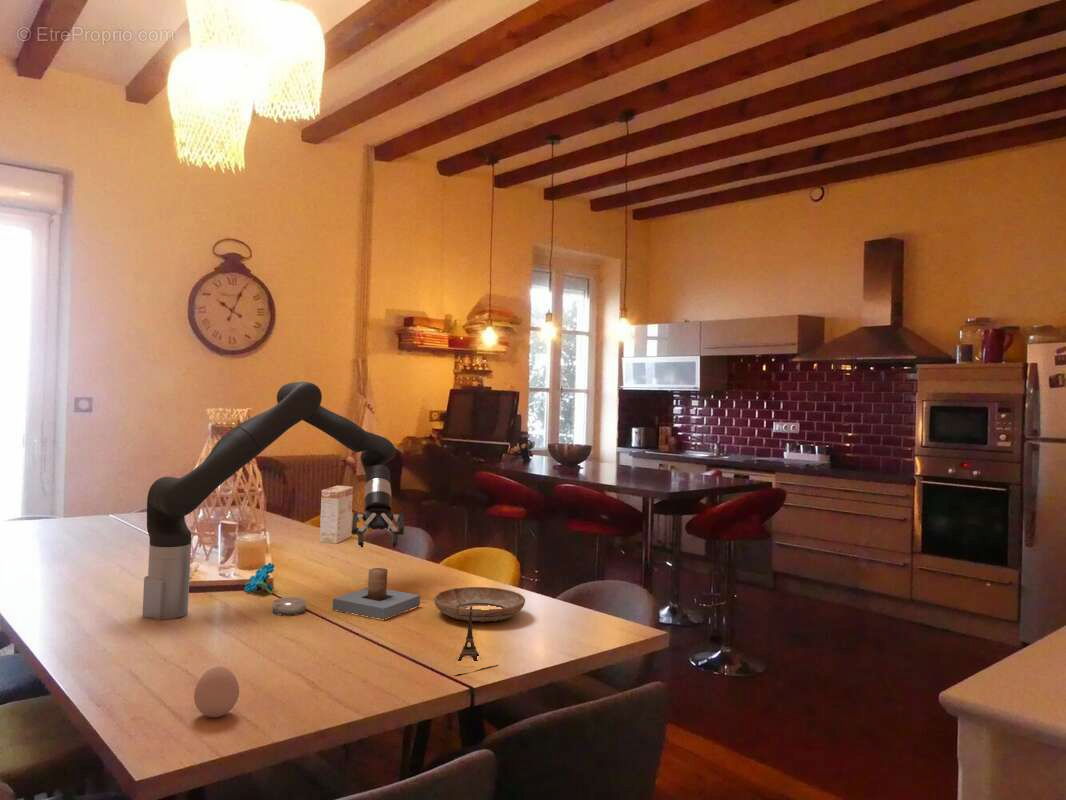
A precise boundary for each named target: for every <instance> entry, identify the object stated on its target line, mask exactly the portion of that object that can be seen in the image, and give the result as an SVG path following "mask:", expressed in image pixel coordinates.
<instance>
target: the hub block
mask: <svg viewBox="0 0 1066 800" xmlns="http://www.w3.org/2000/svg"><path fill="white" fill-rule="evenodd" d="M419 605H420V606H421V595H419V594H414V593H409V592H403V591H398V590H395V589H388V588H387V593H386V599H385V600H382V601H376V600H371V599H368V587H365V588H362V589H359V590H356V591H353V592H349V593H346V594H344V595H340V596H337V597H334V598H332V609H331V610H332V611H334V610H338V611H337V612H339V611H342V612H341V613H343V612H348V613H354V614H358V615H364V616H368V617H374V618H380V619H385V618H388V617H391V616H393V615H396V614H399V613H401V612H404V611H406V610H409V609H411V608H414V607H416V606H419ZM348 613H347V614H348ZM358 615H357V616H358ZM399 615H400V614H399ZM368 617H367V618H368Z"/></svg>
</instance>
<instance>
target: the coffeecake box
mask: <svg viewBox="0 0 1066 800" xmlns="http://www.w3.org/2000/svg"><path fill="white" fill-rule="evenodd" d="M320 495H321V498H320V502H321V503H320V523H319V525H320V526H319V542H318V543H320V542H324V543H323V544H332V543H334V544H333V545H335V544H336V545H337V544H339V543H340V542H344V541H345V540H348V539H350V538H351V537H352V522H353V499H354V498H353V495H354V486H347V485H334V486H332V487H328V488H325V489H321V494H320Z"/></svg>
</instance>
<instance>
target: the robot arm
mask: <svg viewBox="0 0 1066 800" xmlns="http://www.w3.org/2000/svg"><path fill="white" fill-rule="evenodd" d="M322 399H323V397H322V391H321V389H320V387H319V386H318V385H316V384H315V383H312V382H309V381H297V382H295V381H294V382H293V381H292V382H288V383H285V384H283V385H282V386H281V387H280V389H278V391H277V395H276V403H277V404H276V405H274V406H273V407H271V408H269V409H268V410H265V411H263V412H260V413H259V414H256V415H255V416H253V417H250V418H248V419H246V420H244V421H243V422H241V423H239V424H238V425H236V426H235V427H234V428H232V429H231V430H229V431H228V432H226V434H224V435H223V436H222V437H221V438H220V439H218V441H217V442H216V443H215V444H214V446H213V447H212V449H211V451H210V453H209V454H208V456H207V457H206V458H205V460H204V461H203V462H201V463H200V464H199V465H198V466H197V467H196V468H193V470H191V471H190V472H188V473H187V474H184V476H182V477H180V478H179V477H176V476H174V477H173V476H163V477H160V478H158V479H157V480H155V481H154V482H153V483H152V484H151V486H150V487H149V490H148V493H147V498H146V530H147V531H146V532H147V534H148V536H149V545H148V548H149V549H148V567H147V575H146V576H145V577H143V594H142V596H143V597H142V615H141V616H142V617H144V618H145V617H146V618H148V619H152V620H156V619H157V621H162V620H171V619H177V618H181V617H184V616H186V615H187V614H188V613H189V596H190V594H189V593H190V574H191V554H192V531H191V530H190V529H189V527H188V526H187V523H186V516H187V515H190V514H191V513H192V512H194V511H195V510H196V509H197V508H198V507H199V506H200V505H202V503H203V502H204V501H206V499H207V498H208V497H209V496H210V495H211V494H212V493H213V492H214V491H215V490H217V488H218V487H220V486H221V485H222V484H223V483H224V482H226V481H227V480H228V479H229V478H231V477H232V476H233V475H235V474H236V473H237V472H239V470H241V469H242V468H243V467H245V466H246V465H248V464H249V463H250V462H251V461H253V460H254V459H255V458H256V457H257V456H259V455H260V454H261V453H262V452H263V451H265V450H266V449H267V447H269V446H271V445H272V444H273V443H274V442H275V441H277V439H279V438H280V437H281V436H283V435H284V433H286V432H287V431H288V430H289V429H291V428H292V427H294V426H295V425H297V424H298V423H300V422H301V421H303V422H305V423H307V424H309V425H311V426H313V427H315V428H316V429H318V430H320V431H322V432H323V433H324V434H326V435H327V436H330V437H332V439H334V440H336V441H337V442H338V443H339V444H341V445H342V446H345V448H348V449H349V450H350V451H352V452H354V453H360V456H359V458H360V463H361V465H362V468H363V471H364V475H365V488H364V497H363V498H364V512H363V514H362V513H358V512H357V511H354V512H352V523H351V535H353V536H354V535H356V536H357V544H358V545H357V546H360V548H364V544H365V543H364V539H365V538H364V535H365V533H367V532H369V530H370V529H371V530H386V531H387V532H388V533H390V534H391V544H392V545H391V547H392V548H396V546H398V542H399V535H401V536H403V535H404V533H405V522H404V521H405V519H404V513H403V512H402V511H401V512H399V513H398V514H397V513H396V514H394V513H392V512H393V511H392V488H391V471H390V469H389V468H388V466H386V465H385V464H386V463H389V462H390V461H392V460H393V459H394V458H395V456H396V453H397V451H396V447H395V445H394V444H393V443H392V442H391V441H390V439H388V438H386V437H384V436H382V435H379V434H375V433H372V432H371V431H370V432H369V431H367V430H365V429H363V428H362V427H361V426H360V425H358V424H357V423H356V422H354V421H352V420H350V419H349V418H347V417H345V416H343V415H341V414H338V413H336V412H334V411H331V410H329V409H327V408H326V407H324V406H322V405H321V403H322V401H323V400H322ZM361 520H363V524H362V525H361V526H360V527H358V526H357V525H358V523H360V521H361ZM393 520H394V521H395V522H396V523H397V524H398V528H397V527H396V525H394V524H395V523H394V522H393Z"/></svg>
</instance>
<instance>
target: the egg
mask: <svg viewBox="0 0 1066 800" xmlns="http://www.w3.org/2000/svg"><path fill="white" fill-rule="evenodd" d="M193 693H194V694H193V699H194V700H193V701H194V704H195V708H196V709H197V710H198V711H199V712H200V713H201V714H203V715H204V716H206V717H208V718H221V717H223V716H225V715H226V714H228V713H229V712H231V710H232V709H233V708H234V707H235V705H236V704H237V702H238V699H239V697H240V685H239V681H238V679H237V677H236V675H235V674H234V672H232V670H230V669H229V668H227V667H224V666H214V667H211V668H210V669H208V670H206V671H205V672H204V673H202V676H201V677H199V680H198V682H197V684H196V686H195V688H194V692H193Z"/></svg>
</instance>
